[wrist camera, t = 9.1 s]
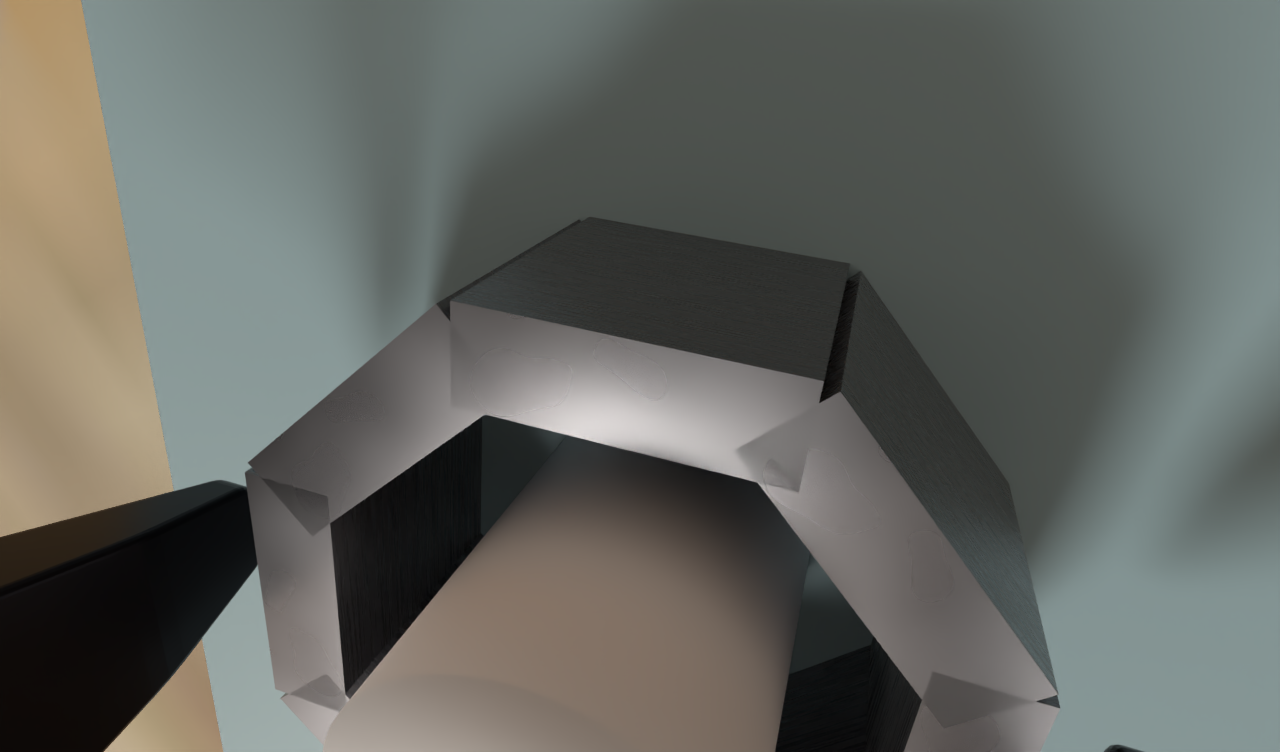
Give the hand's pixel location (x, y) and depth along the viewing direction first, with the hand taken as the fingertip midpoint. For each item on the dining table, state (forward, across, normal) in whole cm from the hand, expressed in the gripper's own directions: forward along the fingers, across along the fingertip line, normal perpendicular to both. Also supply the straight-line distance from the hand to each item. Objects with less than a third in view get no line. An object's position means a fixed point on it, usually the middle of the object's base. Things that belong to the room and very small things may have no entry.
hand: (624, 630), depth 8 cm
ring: (+2, 0, 0) cm, 2 cm away
